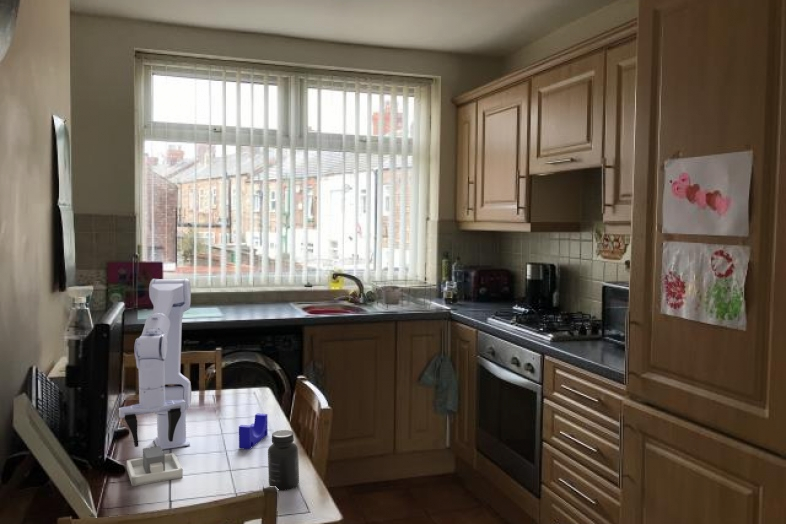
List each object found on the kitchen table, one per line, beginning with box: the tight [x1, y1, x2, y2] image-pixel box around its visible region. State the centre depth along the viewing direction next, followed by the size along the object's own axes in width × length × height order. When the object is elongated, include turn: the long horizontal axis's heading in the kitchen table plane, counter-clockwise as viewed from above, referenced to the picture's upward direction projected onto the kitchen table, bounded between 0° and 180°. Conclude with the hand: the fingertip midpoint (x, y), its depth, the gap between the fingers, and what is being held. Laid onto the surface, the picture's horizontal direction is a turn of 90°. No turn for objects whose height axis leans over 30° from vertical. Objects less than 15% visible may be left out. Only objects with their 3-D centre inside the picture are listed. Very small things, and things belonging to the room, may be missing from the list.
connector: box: [142, 446, 165, 474], centre depth 156 cm, size 9×4×4 cm, turn 27°
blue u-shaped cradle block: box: [238, 412, 269, 450], centre depth 179 cm, size 12×4×6 cm, turn 168°
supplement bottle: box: [267, 429, 300, 492], centre depth 149 cm, size 7×7×12 cm
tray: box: [126, 452, 184, 487], centre depth 156 cm, size 12×11×2 cm
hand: (153, 442), depth 156 cm, fingers open, 7 cm apart
